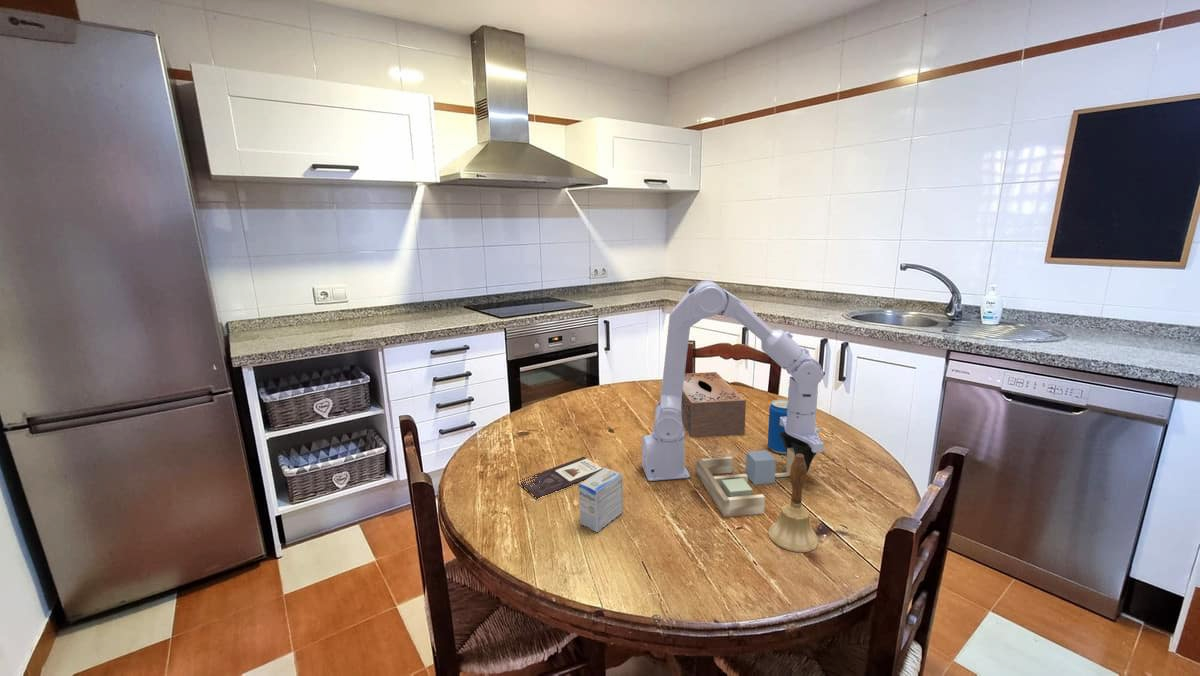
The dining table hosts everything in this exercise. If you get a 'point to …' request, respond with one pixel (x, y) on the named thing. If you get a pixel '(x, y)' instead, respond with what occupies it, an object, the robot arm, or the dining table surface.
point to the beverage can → (776, 425)
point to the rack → (714, 487)
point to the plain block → (736, 488)
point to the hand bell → (795, 516)
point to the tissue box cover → (711, 406)
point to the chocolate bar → (561, 477)
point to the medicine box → (601, 499)
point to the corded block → (765, 466)
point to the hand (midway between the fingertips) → (797, 468)
